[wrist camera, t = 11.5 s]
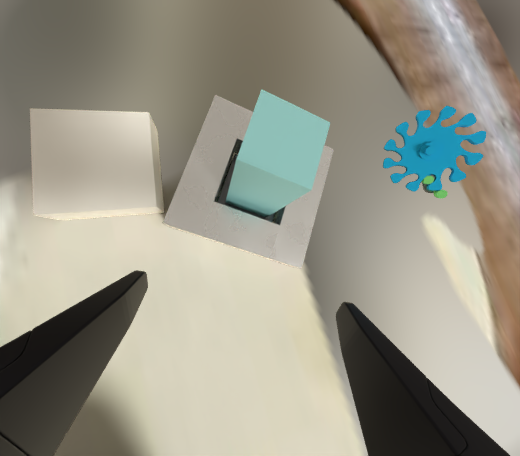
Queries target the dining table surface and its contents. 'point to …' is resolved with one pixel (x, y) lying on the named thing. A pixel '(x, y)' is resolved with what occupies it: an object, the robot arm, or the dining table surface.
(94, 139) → the white flat square block
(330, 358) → the dining table surface
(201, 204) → the hole plate
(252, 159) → the teal square peg
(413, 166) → the blue splat disc
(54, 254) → the dining table surface
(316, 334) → the dining table surface
